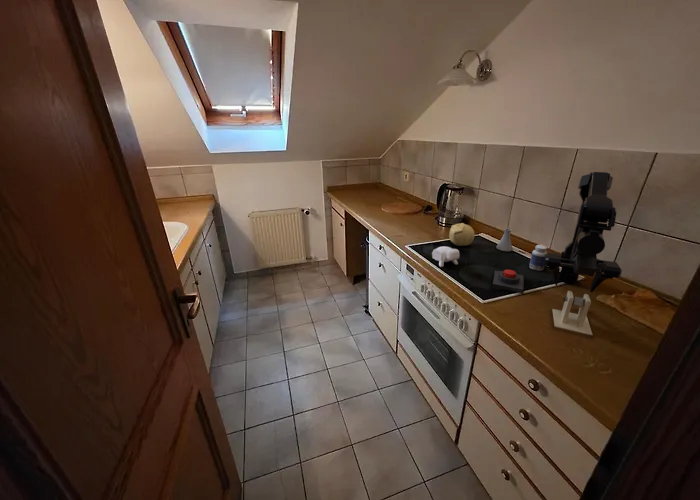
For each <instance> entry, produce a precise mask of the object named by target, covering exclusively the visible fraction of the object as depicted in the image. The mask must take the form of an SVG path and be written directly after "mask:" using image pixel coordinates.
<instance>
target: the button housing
mask: <svg viewBox="0 0 700 500" xmlns="http://www.w3.org/2000/svg"><path fill="white" fill-rule="evenodd" d="M493 274H494V276H493V281H492V284H491V289H492V290H495V291H501V290H505V291H510V292H515V293H518V294H523V293H524V285H525V284H524V282H525V281H524V280H525V277H524V275H523V274H520V273H519V274H518V273H517V272H516V276H515V278H507V277H505V276H503V274H504V270H502V271H501V270H494V273H493Z"/></svg>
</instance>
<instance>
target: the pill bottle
mask: <svg viewBox="0 0 700 500" xmlns="http://www.w3.org/2000/svg"><path fill="white" fill-rule="evenodd" d="M547 250H548V247H547V246H546V245H544V244H543V245H542V244H536V245H535V247H534V250H533V251H532V252H531V256H530V261H529V268H530V269H531V270H534V271H544V269H545V267H546V266H544V256H545V254H546V253H548V252H547Z"/></svg>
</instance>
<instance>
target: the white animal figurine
mask: <svg viewBox="0 0 700 500" xmlns="http://www.w3.org/2000/svg"><path fill="white" fill-rule="evenodd" d="M460 257H461V256H460V250H458V249H457V248H452V247H451V246H443V245H442V246H439V247H437V248H434V249H433V250H432V252H431V259H432V260H433V259H434V260H435V261H437V262H438V266H439V267H440V268H443V267H444V266H445V265H444V263H449V262H452V263H453V264H454V265H455V266H457V265H459V262H458V260H459V259H460Z"/></svg>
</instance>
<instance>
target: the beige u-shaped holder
mask: <svg viewBox="0 0 700 500" xmlns="http://www.w3.org/2000/svg"><path fill="white" fill-rule="evenodd" d="M589 295H590V294H587V293H584V294H583V297H582V298H584V301H583V306H579V309H578V312H577V313H575V312H571V309H572V306H573V305H572V303H573V300H574V297H573V296H574V294H573V291H571V290H567V293H566V296H564V297H565V302H564V301H563V306H562V309H561V310H560V309H556V308H552V317H553V324H554V327H555V328H556V329H562V330H565V331H566V330H567V331H571V332H575V333H579V334H583V335H587V336H593V332H592V329H591V326H590V322H589V319H588V316H587V315H588V312H589V309H590V306H592V301H591V298H590V296H589Z"/></svg>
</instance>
